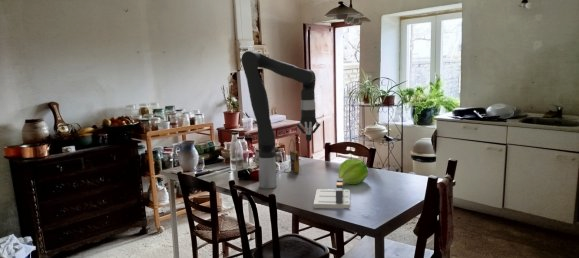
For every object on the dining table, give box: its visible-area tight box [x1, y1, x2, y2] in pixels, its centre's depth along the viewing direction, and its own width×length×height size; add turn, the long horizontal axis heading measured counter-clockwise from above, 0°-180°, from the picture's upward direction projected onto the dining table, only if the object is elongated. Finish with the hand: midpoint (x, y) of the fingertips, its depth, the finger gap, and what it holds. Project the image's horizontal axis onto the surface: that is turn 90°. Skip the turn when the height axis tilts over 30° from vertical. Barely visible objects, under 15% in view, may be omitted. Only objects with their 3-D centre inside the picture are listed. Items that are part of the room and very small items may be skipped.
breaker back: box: [336, 177, 343, 183], centre depth 207 cm, size 3×4×6 cm
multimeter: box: [283, 139, 302, 175], centre depth 252 cm, size 15×10×20 cm
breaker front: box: [335, 188, 342, 203], centre depth 192 cm, size 3×4×6 cm
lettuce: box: [337, 158, 369, 185], centre depth 225 cm, size 15×22×15 cm
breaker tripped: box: [335, 181, 344, 197], centre depth 200 cm, size 3×4×6 cm
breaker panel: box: [313, 188, 351, 209], centre depth 201 cm, size 17×22×2 cm
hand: (308, 141), depth 213 cm, fingers closed
